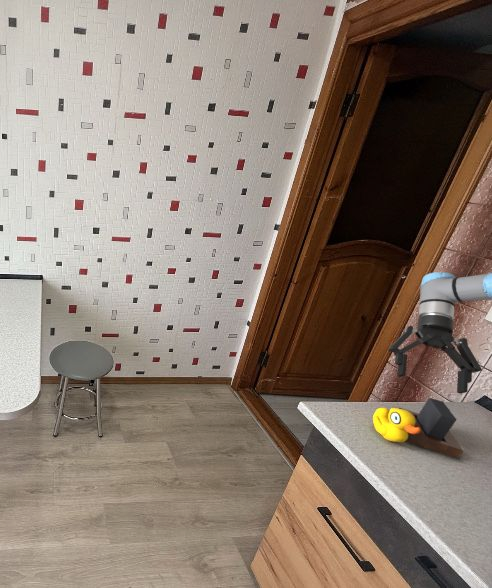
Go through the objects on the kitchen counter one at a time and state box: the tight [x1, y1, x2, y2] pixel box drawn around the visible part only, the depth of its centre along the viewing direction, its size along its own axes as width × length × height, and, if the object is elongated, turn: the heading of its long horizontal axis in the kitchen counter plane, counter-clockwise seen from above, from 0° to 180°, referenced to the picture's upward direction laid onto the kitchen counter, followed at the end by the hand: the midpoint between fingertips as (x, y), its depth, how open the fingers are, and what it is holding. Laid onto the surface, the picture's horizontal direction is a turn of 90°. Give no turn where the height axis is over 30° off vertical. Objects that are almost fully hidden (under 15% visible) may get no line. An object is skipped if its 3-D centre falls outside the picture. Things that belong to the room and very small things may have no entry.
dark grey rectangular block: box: [416, 397, 457, 441], centre depth 91 cm, size 3×8×10 cm, turn 152°
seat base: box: [398, 407, 464, 460], centre depth 93 cm, size 10×12×3 cm
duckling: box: [372, 407, 421, 443], centre depth 89 cm, size 11×5×10 cm, turn 175°
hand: (430, 383), depth 97 cm, fingers open, 13 cm apart
